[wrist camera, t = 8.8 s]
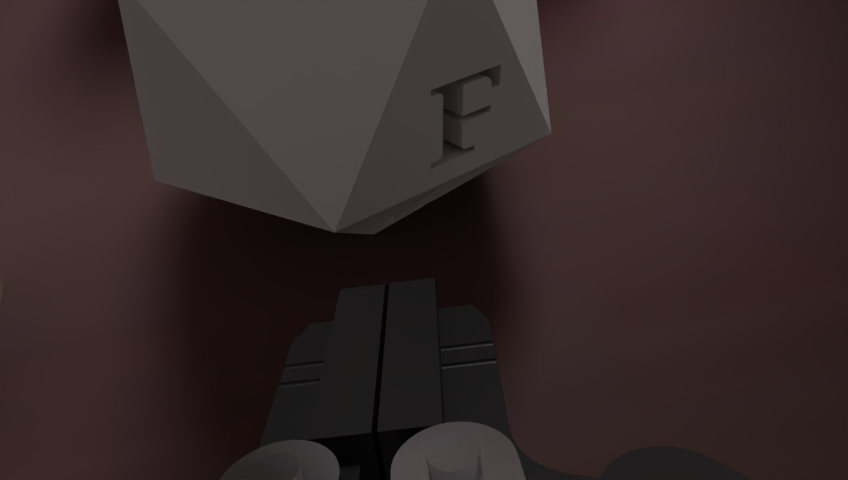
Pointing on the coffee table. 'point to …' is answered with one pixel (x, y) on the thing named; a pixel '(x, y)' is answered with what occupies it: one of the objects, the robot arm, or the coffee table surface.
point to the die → (335, 100)
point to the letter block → (0, 286)
